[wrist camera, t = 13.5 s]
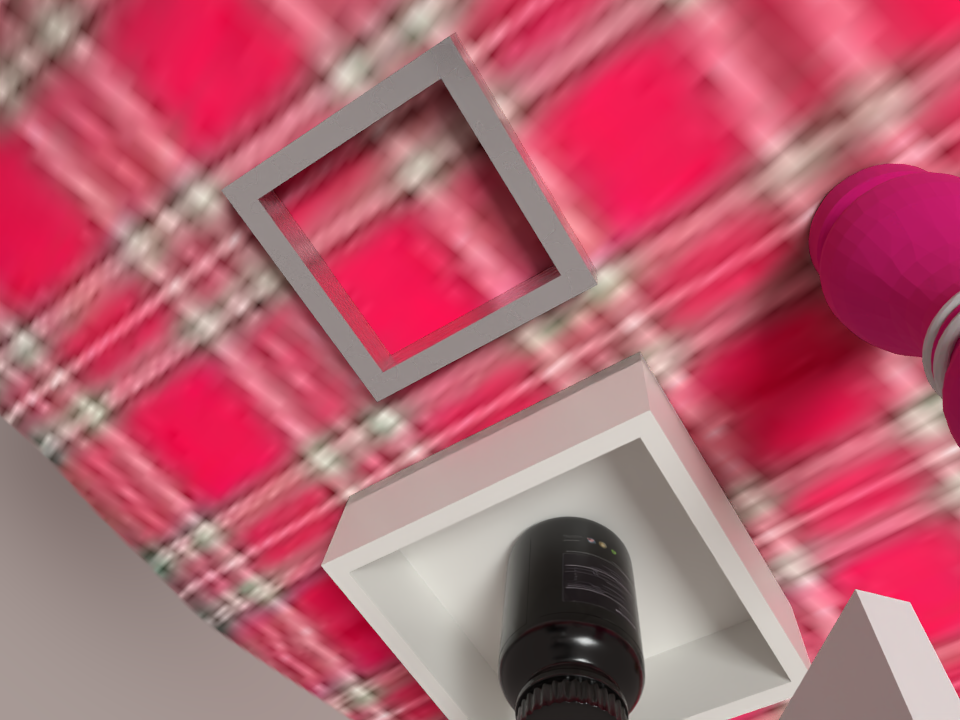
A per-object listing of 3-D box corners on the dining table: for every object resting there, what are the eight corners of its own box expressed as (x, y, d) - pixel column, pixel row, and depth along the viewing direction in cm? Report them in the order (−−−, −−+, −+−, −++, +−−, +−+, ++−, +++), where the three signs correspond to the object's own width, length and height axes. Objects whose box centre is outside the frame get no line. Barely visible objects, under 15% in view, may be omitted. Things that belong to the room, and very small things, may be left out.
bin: (349, 496, 47) (320, 565, 42) (640, 351, 42) (649, 410, 36) (516, 708, 53) (509, 793, 47) (791, 605, 47) (819, 688, 42)
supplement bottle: (593, 628, 48) (599, 821, 37) (487, 579, 47) (461, 761, 37) (657, 544, 45) (684, 727, 35) (545, 490, 45) (536, 660, 34)
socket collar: (237, 179, 40) (221, 190, 38) (455, 32, 36) (449, 36, 34) (385, 383, 44) (377, 401, 42) (596, 269, 40) (597, 284, 38)
